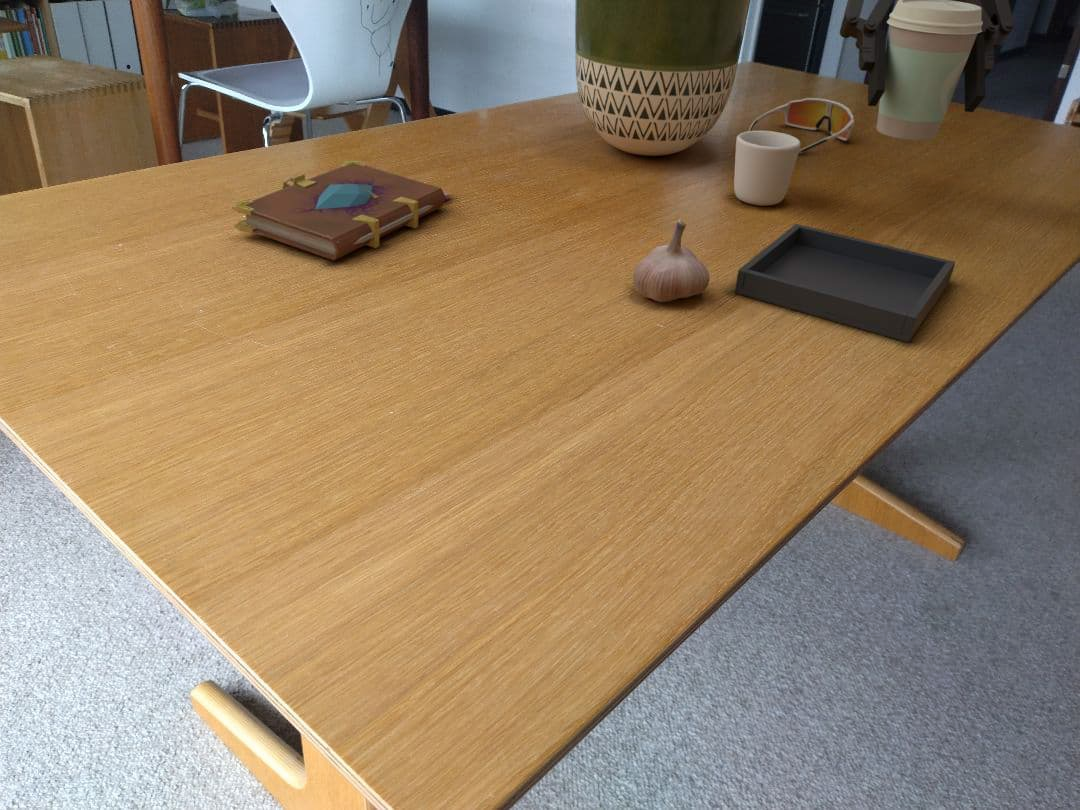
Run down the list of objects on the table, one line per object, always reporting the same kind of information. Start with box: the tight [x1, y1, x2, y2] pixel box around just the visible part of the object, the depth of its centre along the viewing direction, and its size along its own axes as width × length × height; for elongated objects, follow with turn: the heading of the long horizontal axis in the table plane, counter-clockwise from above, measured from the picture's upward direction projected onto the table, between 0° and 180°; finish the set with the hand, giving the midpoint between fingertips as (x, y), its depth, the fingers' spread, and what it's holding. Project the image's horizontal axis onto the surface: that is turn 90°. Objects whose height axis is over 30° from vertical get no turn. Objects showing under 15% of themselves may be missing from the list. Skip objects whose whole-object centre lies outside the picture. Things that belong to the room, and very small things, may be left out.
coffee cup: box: [876, 0, 983, 142], centre depth 86 cm, size 8×9×12 cm
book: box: [231, 159, 453, 261], centre depth 104 cm, size 16×25×5 cm, turn 151°
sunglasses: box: [748, 97, 855, 155], centre depth 140 cm, size 14×15×5 cm
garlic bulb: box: [632, 219, 710, 303], centre depth 87 cm, size 8×7×8 cm
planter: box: [574, 0, 752, 157], centre depth 125 cm, size 24×24×27 cm
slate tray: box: [734, 223, 956, 343], centre depth 91 cm, size 18×17×3 cm
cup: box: [733, 130, 802, 207], centre depth 114 cm, size 11×8×8 cm
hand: (925, 101), depth 84 cm, fingers closed on coffee cup, 8 cm apart
